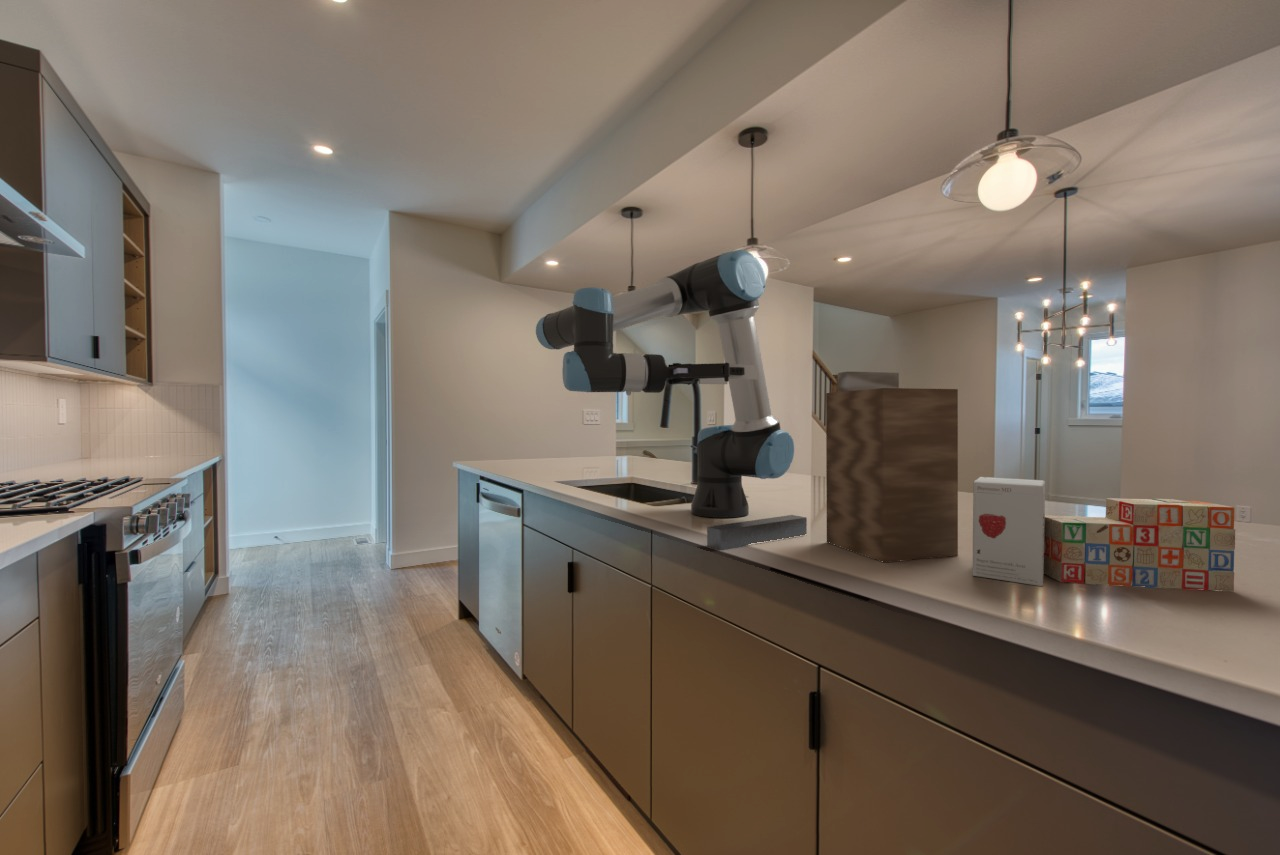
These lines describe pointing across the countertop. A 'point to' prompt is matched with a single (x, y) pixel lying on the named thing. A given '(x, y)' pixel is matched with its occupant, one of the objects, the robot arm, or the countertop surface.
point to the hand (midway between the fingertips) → (741, 375)
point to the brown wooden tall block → (892, 468)
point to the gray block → (755, 531)
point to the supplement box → (1009, 529)
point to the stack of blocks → (1144, 545)
